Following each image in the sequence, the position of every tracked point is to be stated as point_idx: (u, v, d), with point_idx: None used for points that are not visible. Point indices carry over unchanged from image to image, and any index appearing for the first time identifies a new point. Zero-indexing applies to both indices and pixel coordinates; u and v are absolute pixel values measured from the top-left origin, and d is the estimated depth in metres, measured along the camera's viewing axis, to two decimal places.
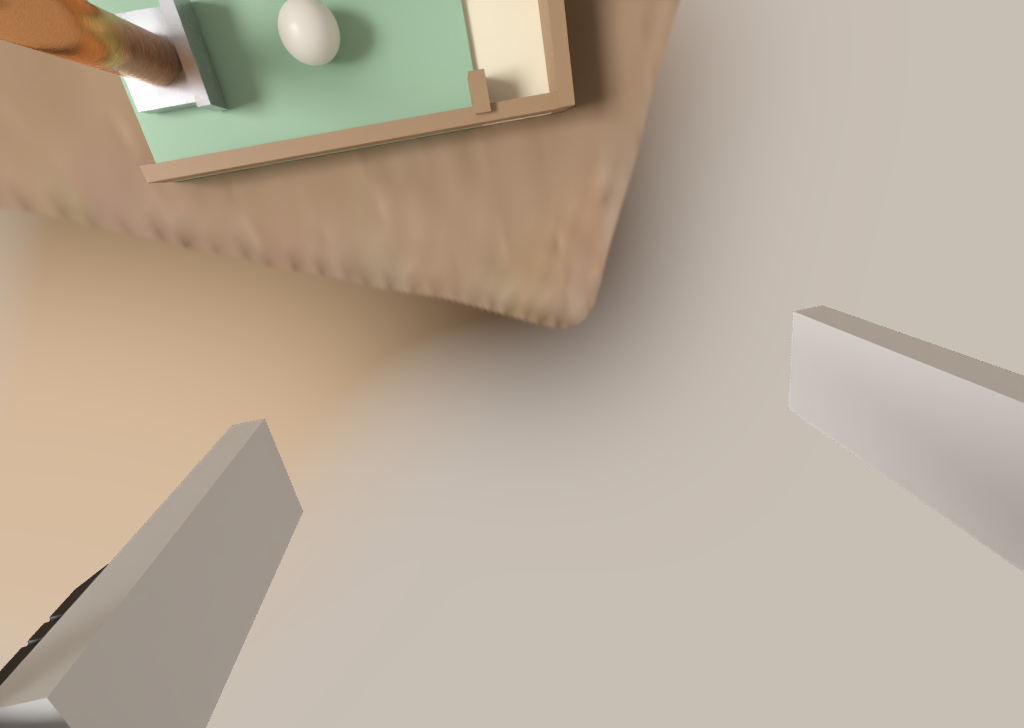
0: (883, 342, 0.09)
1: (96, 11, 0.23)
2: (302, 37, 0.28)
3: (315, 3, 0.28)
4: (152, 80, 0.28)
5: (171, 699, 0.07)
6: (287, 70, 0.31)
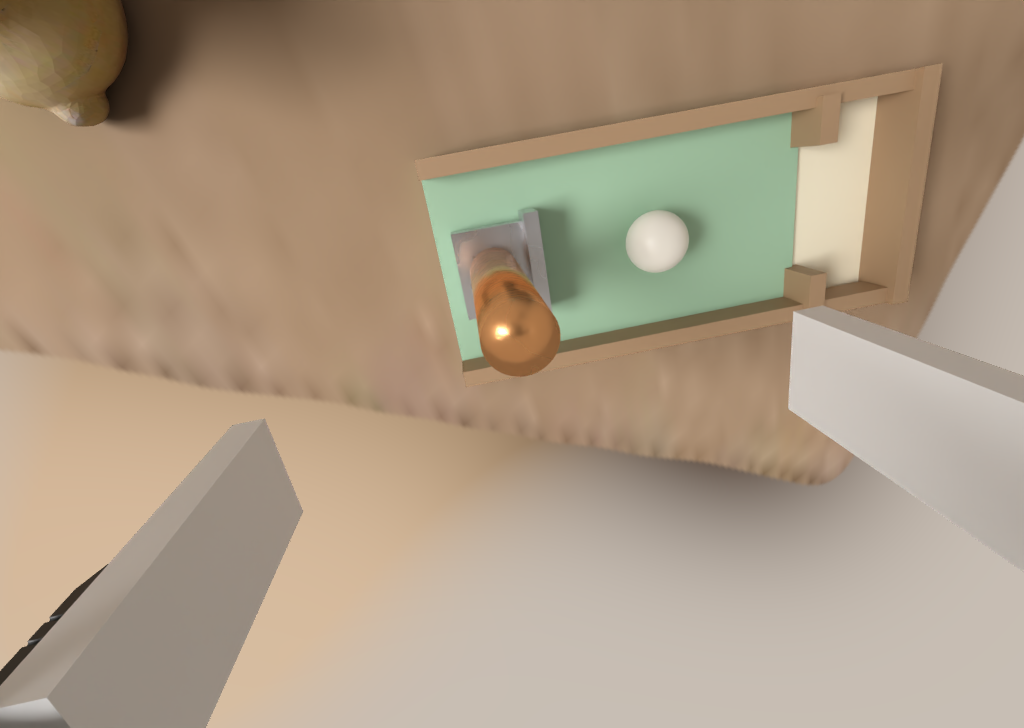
0: (883, 342, 0.09)
1: None
2: (665, 257, 0.27)
3: (679, 222, 0.27)
4: None
5: (171, 699, 0.07)
6: (609, 267, 0.30)
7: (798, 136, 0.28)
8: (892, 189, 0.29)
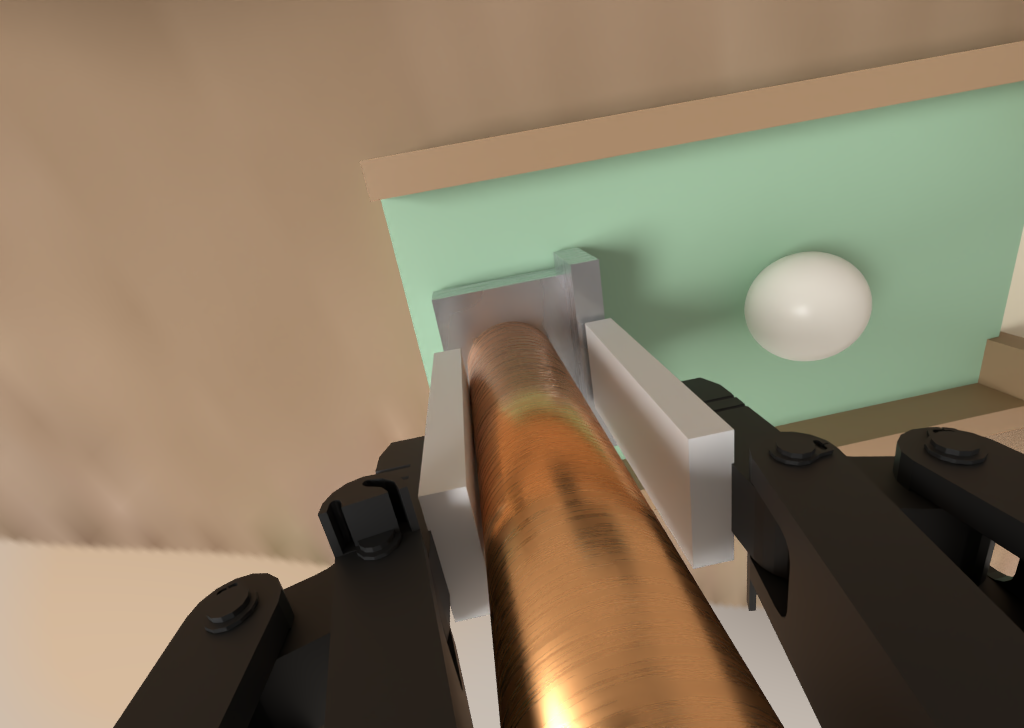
0: (618, 351, 0.11)
1: None
2: (834, 342, 0.14)
3: (860, 276, 0.14)
4: None
5: None
6: (707, 344, 0.18)
7: None
8: None
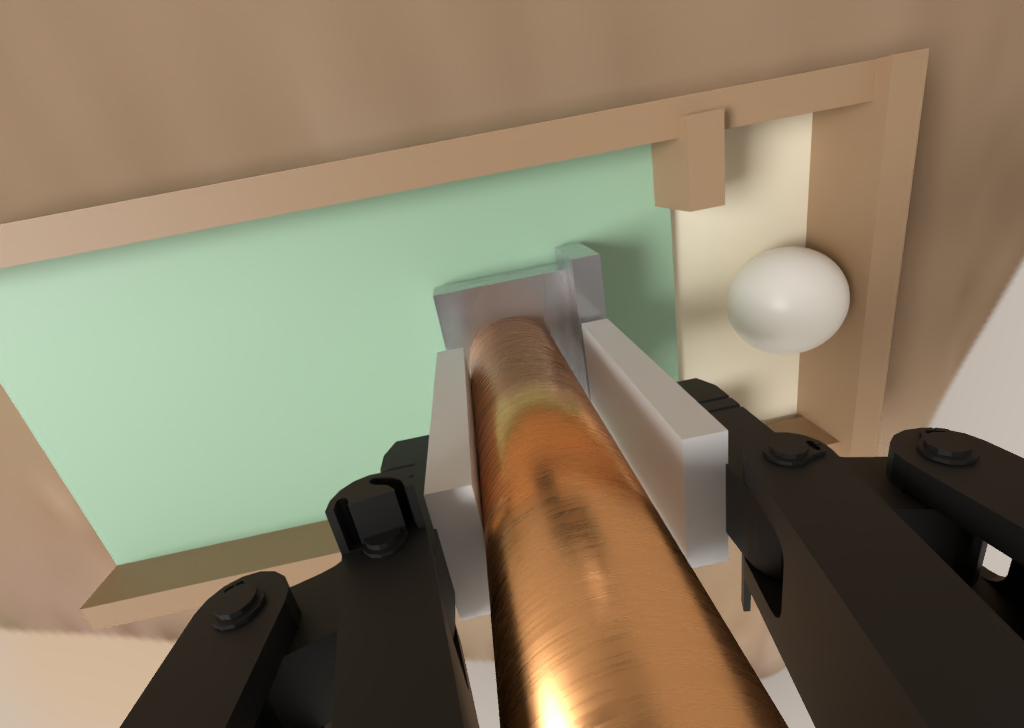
0: (613, 352, 0.11)
1: (614, 441, 0.09)
2: (793, 337, 0.15)
3: (832, 274, 0.14)
4: None
5: None
6: (351, 414, 0.17)
7: (662, 188, 0.15)
8: None
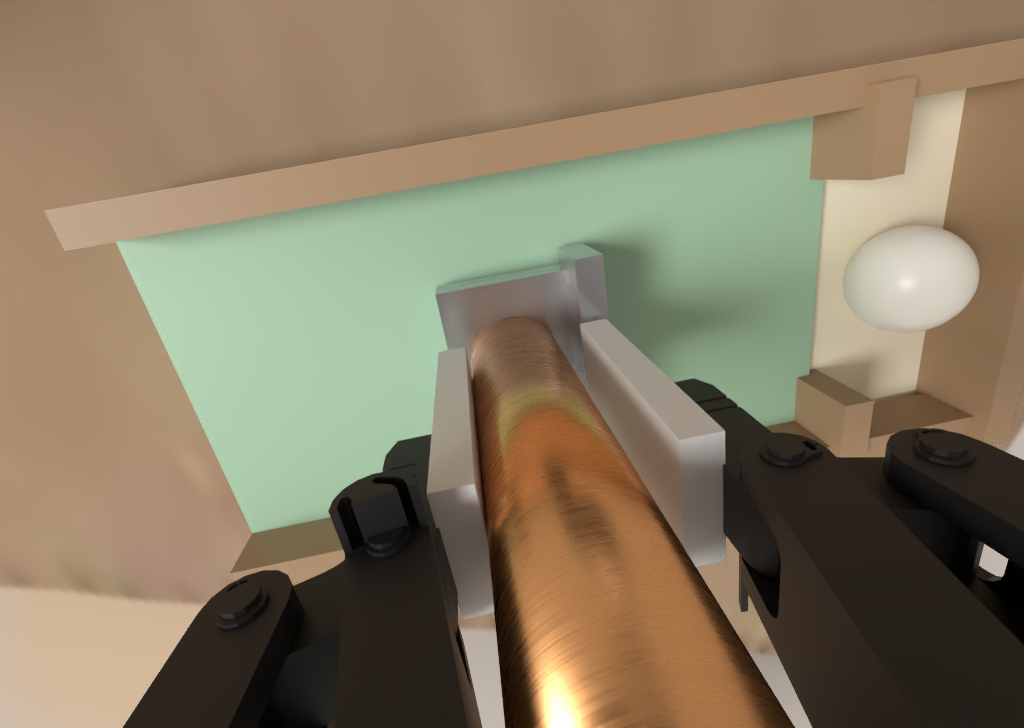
0: (612, 352, 0.11)
1: (617, 441, 0.09)
2: (887, 312, 0.15)
3: (946, 256, 0.14)
4: None
5: None
6: None
7: (826, 160, 0.15)
8: (991, 254, 0.16)
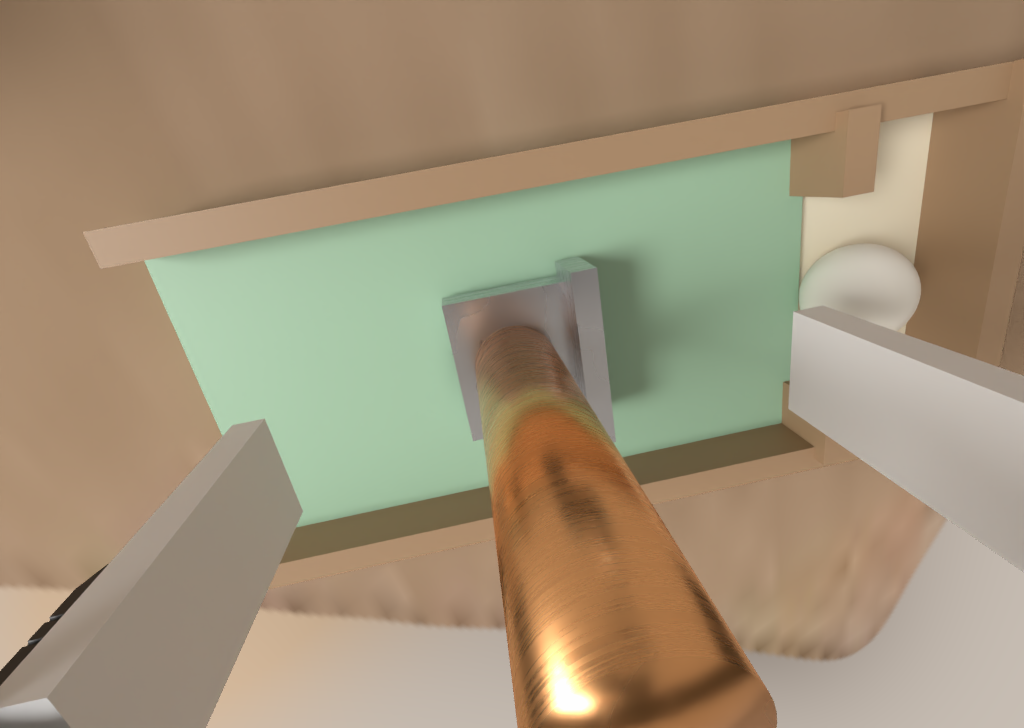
0: (883, 342, 0.09)
1: (609, 437, 0.10)
2: None
3: (859, 276, 0.16)
4: None
5: (171, 699, 0.07)
6: None
7: (803, 179, 0.16)
8: (961, 264, 0.17)
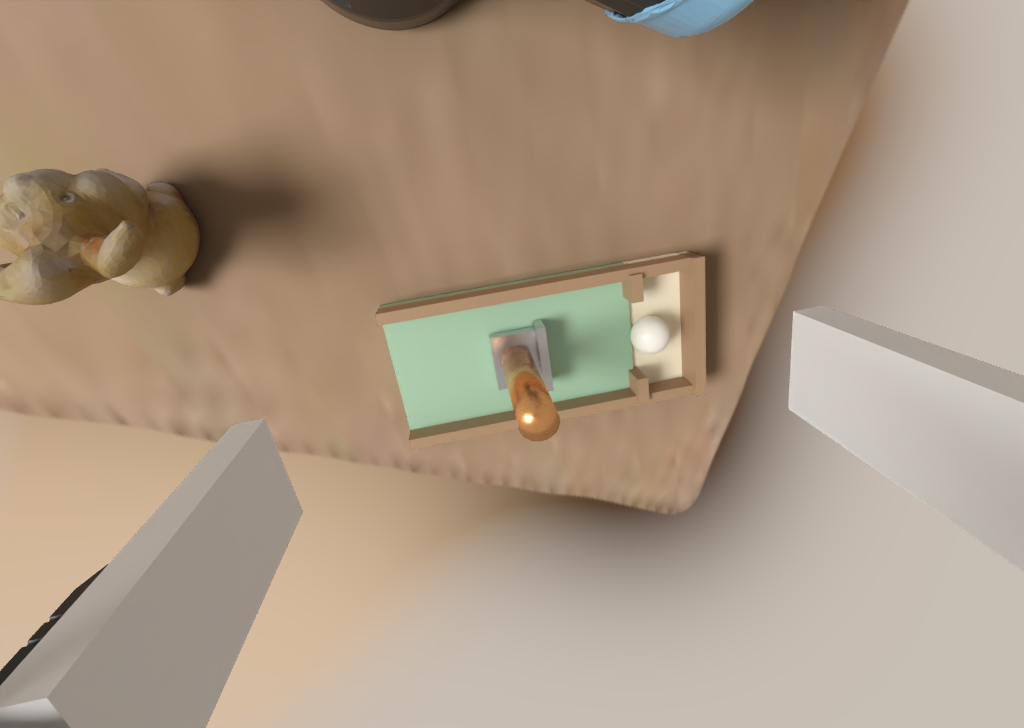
0: (883, 342, 0.09)
1: (542, 380, 0.37)
2: (633, 345, 0.44)
3: (645, 329, 0.43)
4: None
5: (171, 699, 0.07)
6: None
7: (625, 292, 0.43)
8: (689, 324, 0.44)
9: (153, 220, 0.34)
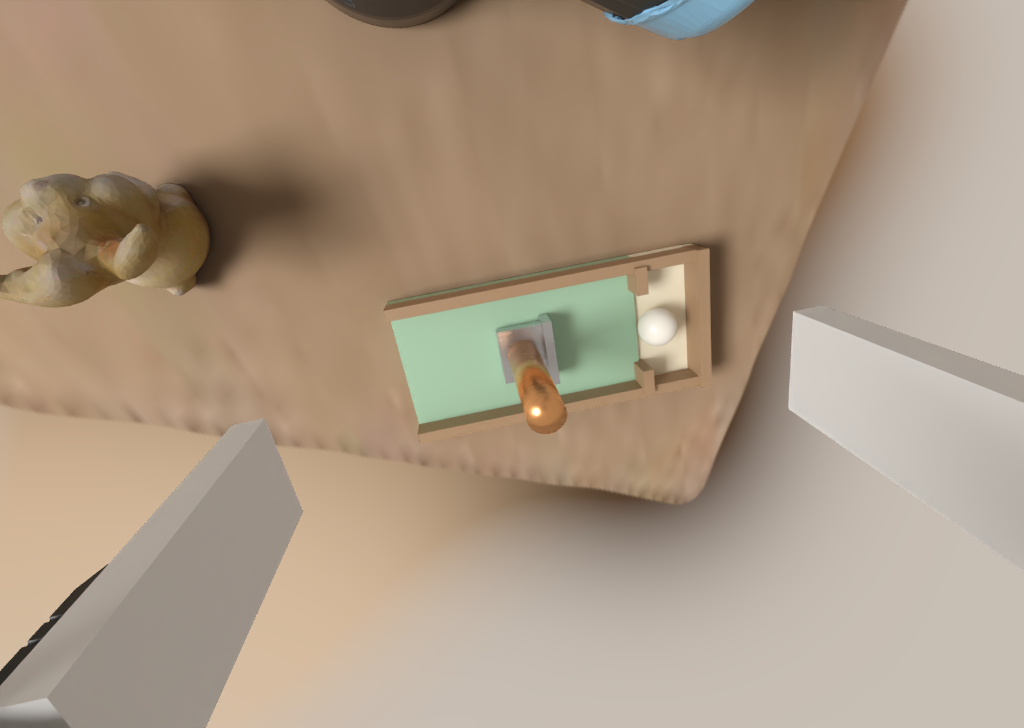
0: (883, 342, 0.09)
1: (549, 373, 0.37)
2: (642, 338, 0.44)
3: (654, 321, 0.43)
4: None
5: (171, 699, 0.07)
6: None
7: (630, 285, 0.43)
8: (694, 316, 0.44)
9: (164, 222, 0.35)
